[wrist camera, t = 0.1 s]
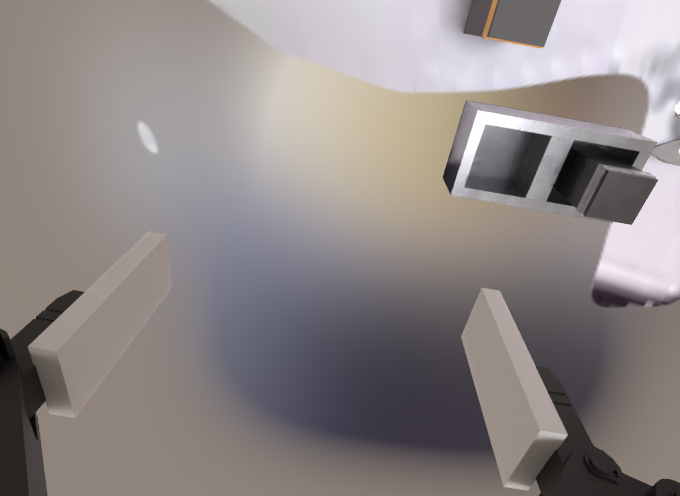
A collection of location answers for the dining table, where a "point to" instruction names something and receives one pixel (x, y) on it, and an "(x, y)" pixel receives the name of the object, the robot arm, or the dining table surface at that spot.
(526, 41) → the plug
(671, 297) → the dining table surface
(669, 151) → the figurine
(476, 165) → the grey holder
